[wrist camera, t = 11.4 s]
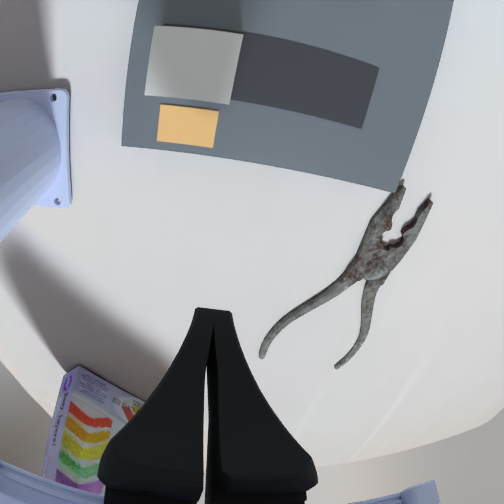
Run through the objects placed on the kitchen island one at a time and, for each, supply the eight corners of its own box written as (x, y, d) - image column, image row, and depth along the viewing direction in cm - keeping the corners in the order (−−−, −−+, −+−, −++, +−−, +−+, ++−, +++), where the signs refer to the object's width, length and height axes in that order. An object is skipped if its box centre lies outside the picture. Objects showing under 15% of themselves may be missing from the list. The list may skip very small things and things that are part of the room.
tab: (160, 86, 14) (144, 95, 11) (169, 29, 12) (154, 25, 10) (231, 94, 14) (229, 104, 12) (242, 37, 13) (243, 34, 10)
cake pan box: (204, 426, 39) (201, 546, 25) (179, 433, 41) (173, 544, 26) (81, 359, 30) (44, 512, 15) (63, 371, 31) (28, 506, 17)
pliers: (255, 370, 30) (306, 170, 18) (255, 362, 31) (304, 164, 19) (348, 370, 31) (437, 196, 19) (346, 363, 32) (432, 190, 20)
